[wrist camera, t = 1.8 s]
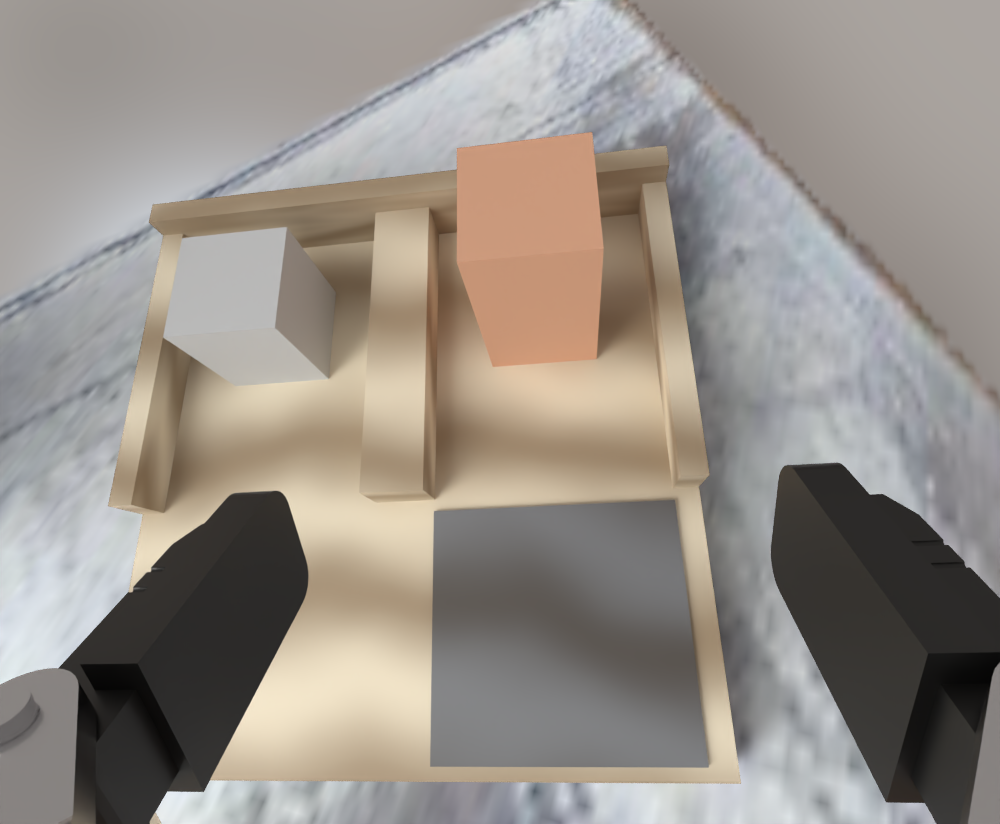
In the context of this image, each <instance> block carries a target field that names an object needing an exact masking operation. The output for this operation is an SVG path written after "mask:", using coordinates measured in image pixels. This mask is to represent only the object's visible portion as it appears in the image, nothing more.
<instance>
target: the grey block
mask: <svg viewBox="0 0 1000 824" xmlns="http://www.w3.org/2000/svg"><path fill="white" fill-rule="evenodd" d="M335 299H336V292H335V291H334V289H333V288H332V287H331V285H330V284H329V283H328V281H327V280H326V279H325V277H324V276H323V275H322V273H321V272H320V271H319V269H318V268H317V267H316V265H315V264H314V263H313V261H312V260H311V259H310V257H309V256H308V255H307V253H306V252H305V251H304V249H303V248H302V247H301V245H300V244H299V243H298V241H297V240H296V238H295V237H294V236H293V234H292V233H291V232H290V230H289V229H288V228H287V227H282V228H273V229H263V230H254V231H245V232H235V233H226V234H217V235H207V236H198V237H189V238H182V241H181V246H180V251H179V257H178V262H177V267H176V272H175V278H174V283H173V288H172V293H171V298H170V304H169V309H168V314H167V319H166V325H165V330H164V335H163V338H165V339H166V340H168V341H169V342H171V343H172V344H174V345H175V346H177V347H178V348H180V349H181V350H183V351H184V352H186V353H187V354H189V355H190V356H192V357H193V358H195V359H196V360H198V361H199V362H200V363H202V364H203V365H205V366H206V367H208V368H209V369H211V370H212V371H214V372H215V373H217V374H218V375H220V376H221V377H223V378H224V379H226V380H227V381H229V382H230V383H232V384H233V385H235V386H245V385H258V384H271V383H285V382H298V381H311V380H325V379H329V372H330V360H331V348H332V336H333V323H334V311H335Z"/></svg>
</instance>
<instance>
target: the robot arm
mask: <svg viewBox="0 0 1000 824" xmlns="http://www.w3.org/2000/svg"><path fill="white" fill-rule="evenodd" d="M771 561H772V568H773V573H774V577H775V581H776V584H777V586H778V589H779V591H780V593H781V595H782V597H783V599H784V601H785V603H786V605H787V607H788V609H789V611H790V613H791V615H792V617H793V619H794V621H795V623H796V625H797V627H798V629H799V630H800V632H801V634H802V636H803V638H804V640H805V642H806V644H807V646H808V648H809V650H810V652H811V654H812V656H813V658H814V660H815V662H816V664H817V666H818V668H819V670H820V672H821V674H822V676H823V678H824V680H825V682H826V684H827V686H828V688H829V690H830V692H831V694H832V696H833V698H834V700H835V702H836V704H837V706H838V708H839V710H840V712H841V714H842V716H843V718H844V720H845V722H846V724H847V726H848V728H849V730H850V731H851V733H852V735H853V737H854V739H855V741H856V743H857V745H858V747H859V749H860V751H861V753H862V755H863V757H864V759H865V761H866V763H867V765H868V767H869V769H870V771H871V773H872V775H873V777H874V779H875V781H876V783H877V785H878V787H879V789H880V791H881V793H882V795H883V797H884V799H885V801H886V802H900V803H925V804H926V806H927V807H928V809H929V811H930V813H931V814H932V816H933V818H934V820H935V822H936V823H937V824H1000V598H999V597H998V596H997V595H996V594H995V593H994V592H993V591H992V590H991V589H990V588H989V586H988V585H987V584H986V583H985V582H984V581H983V580H982V579H981V578H980V577H979V576H978V575H977V574H976V573H975V572H974V571H973V570H972V569H971V568H966V567H965V564H964V561H963V560H962V559H961V558H960V557H959V556H958V555H957V554H956V553H955V551H954V550H953V549H952V548H951V547H950V546H949V545H944V543H943V539H942V538H941V537H940V536H939V535H938V534H937V533H936V532H935V531H934V530H933V529H932V528H931V527H930V526H929V525H928V524H927V523H926V522H925V521H924V520H923V519H922V518H921V516H920V515H918V514H917V513H915V512H913V511H911V510H910V509H908V508H906V507H904V506H903V505H901V504H899V503H897V502H896V501H894V500H892V499H890V498H889V497H887V496H885V495H883V494H875V495H869V493H868V492H867V491H866V490H865V489H864V488H863V487H862V486H861V484H860V483H859V482H858V481H857V480H856V479H855V478H854V477H853V475H852V474H851V473H850V472H849V471H848V470H847V469H846V468H845V467H844V466H843V465H842V464H840V463H823V464H803V465H787V466H784V467H783V468H782V470H781V472H780V476H779V481H778V490H777V499H776V508H775V517H774V526H773V535H772V544H771ZM308 578H309V574H308V565H307V561H306V558H305V555H304V551H303V548H302V545H301V542H300V539H299V535H298V532H297V529H296V526H295V523H294V519H293V516H292V513H291V510H290V507H289V504H288V501H287V499H286V497H285V496H284V494H283V493H281V492H280V491H259V492H240V493H233V494H231V495H229V496H228V497H227V498H226V499H225V501H224V502H223V503H222V504H221V505H220V506H219V507H218V509H217V510H216V511H215V512H214V513H213V514H212V515H211V516H210V518H209V519H208V520H207V521H206V522H205V523H204V524H201V525H200V526H198V527H197V528H195V529H194V530H192V531H191V532H189V533H188V534H187V535H185V536H184V537H182V538H181V539H179V540H178V541H176V542H175V543H173V544H172V545H171V546H170V547H169V548H168V549H167V551H166V552H165V553H164V554H163V555H162V556H161V557H160V558H159V559H158V560H157V561H156V563H155V564H154V565H153V566H152V567H151V572H146V573H145V575H144V576H143V577H142V578H141V579H140V580H139V581H138V582H137V583H136V584H135V585H134V587H133V592H128V593H127V594H126V595H125V596H124V597H123V599H122V600H121V601H120V602H119V603H118V604H117V605H116V606H115V607H114V608H113V609H112V611H111V612H110V613H109V614H108V615H107V616H106V617H105V618H104V619H103V620H102V621H101V623H100V624H99V625H98V626H97V627H96V628H95V629H94V630H93V631H92V632H91V633H90V635H89V636H88V637H87V638H86V639H85V640H84V641H83V642H82V643H81V644H80V645H79V647H78V648H77V649H76V650H75V651H74V652H73V653H72V654H71V655H70V656H69V657H68V659H67V660H66V661H65V662H64V663H63V664H62V665H61V666H60V667H59V668H52V669H43V670H37V671H34V672H30V673H27V674H24V675H21V676H19V677H16V678H13V679H11V680H9V681H7V682H5V683H3V684H1V685H0V824H161V822H160V820H159V818H158V816H157V814H156V813H155V812H156V810H157V808H158V806H159V805H160V803H161V801H162V799H163V798H164V796H165V794H166V793H167V791H180V792H204V790H205V788H206V787H207V785H208V783H209V781H210V779H211V777H212V775H213V773H214V771H215V769H216V767H217V766H218V764H219V762H220V760H221V758H222V756H223V754H224V752H225V750H226V748H227V746H228V745H229V743H230V741H231V739H232V737H233V735H234V733H235V731H236V729H237V727H238V726H239V724H240V722H241V720H242V718H243V716H244V714H245V712H246V710H247V708H248V706H249V705H250V703H251V701H252V699H253V697H254V695H255V693H256V691H257V689H258V687H259V685H260V684H261V682H262V680H263V678H264V676H265V674H266V672H267V670H268V668H269V666H270V664H271V663H272V661H273V659H274V657H275V655H276V653H277V651H278V649H279V647H280V645H281V644H282V642H283V640H284V638H285V636H286V634H287V632H288V630H289V628H290V626H291V624H292V623H293V621H294V619H295V617H296V615H297V613H298V611H299V609H300V607H301V605H302V603H303V601H304V599H305V596H306V593H307V588H308Z"/></svg>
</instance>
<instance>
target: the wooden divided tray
mask: <svg viewBox="0 0 1000 824" xmlns="http://www.w3.org/2000/svg"><path fill="white" fill-rule="evenodd" d="M594 156H595V166H596V176H597V186H598V197H599V207H600V217H601V227H602V237H603V247H604V251H603V267H602V282H601V298H600V313H599V329H598V345H597V359H592V360H579V361H566V362H553V363H539V364H526V365H513V366H499V367H493V366H492V363H491V360H490V357H489V354H488V351H487V348H486V346H485V343H484V340H483V337H482V334H481V331H480V328H479V325H478V322H477V320H476V317H475V314H474V311H473V308H472V305H471V302H470V299H469V296H468V293H467V291H466V288H465V285H464V282H463V279H462V276H461V273H460V270H459V267H458V265H457V170H450V171H441V172H433V173H424V174H415V175H406V176H398V177H389V178H380V179H372V180H363V181H354V182H345V183H337V184H328V185H319V186H311V187H302V188H293V189H285V190H276V191H267V192H258V193H250V194H241V195H232V196H224V197H215V198H206V199H197V200H189V201H180V202H171V203H163V204H154V205H153V206H152V210H151V215H150V219H149V223H150V224H151V225H152V226H153V227H154V228H156V229H157V230H158V231H159V232H160V233H161V234H162V235H163V240H162V245H161V250H160V254H159V259H158V264H157V269H156V274H155V279H154V284H153V289H152V294H151V298H150V303H149V308H148V313H147V318H146V323H145V328H144V333H143V338H142V342H141V347H140V352H139V357H138V362H137V367H136V372H135V377H134V381H133V386H132V391H131V396H130V401H129V406H128V411H127V416H126V421H125V425H124V430H123V435H122V440H121V445H120V450H119V455H118V460H117V465H116V469H115V474H114V479H113V484H112V489H111V494H110V499H109V504H108V506H110V507H114V508H118V509H122V510H127V511H131V512H135V513H139V514H143V516H142V522H141V527H140V533H139V538H138V544H137V549H136V554H135V560H134V565H133V571H132V576H131V582H130V587H129V592H133V587H134V585H135V584H136V583H137V582H138V581H139V580H140V579H141V578H142V577H143V576H144V575H145V573H146V572H151V567H152V566H153V565H154V564H155V563H156V561H157V560H158V559H159V558H160V557H161V556H162V555H163V554H164V553H165V552H166V551H167V549H168V548H169V547H170V546H171V545H172V544H173V543H175V542H176V541H178V540H179V539H181V538H182V537H184V536H185V535H187V534H188V533H189V532H191V531H192V530H194V529H195V528H197V527H198V526H200V525H201V524H204V523H205V522H206V521H207V520H208V519H209V518H210V516H211V515H212V514H213V513H214V512H215V511H216V510H217V509H218V507H219V506H220V505H221V504H222V503H223V502H224V501H225V499H226V498H227V497H228V496H229V495H231V494H233V493H240V492H259V491H280V492H281V493H283V494H284V496H285V497H286V499H287V501H288V504H289V507H290V510H291V513H292V516H293V519H294V523H295V526H296V529H297V532H298V535H299V539H300V542H301V545H302V548H303V551H304V555H305V558H306V561H307V565H308V574H309V578H308V588H307V593H306V596H305V599H304V601H303V603H302V605H301V607H300V609H299V611H298V613H297V615H296V617H295V619H294V621H293V623H292V624H291V626H290V628H289V630H288V632H287V634H286V636H285V638H284V640H283V642H282V644H281V645H280V647H279V649H278V651H277V653H276V655H275V657H274V659H273V661H272V663H271V664H270V666H269V668H268V670H267V672H266V674H265V676H264V678H263V680H262V682H261V684H260V685H259V687H258V689H257V691H256V693H255V695H254V697H253V699H252V701H251V703H250V705H249V706H248V708H247V710H246V712H245V714H244V716H243V718H242V720H241V722H240V724H239V726H238V727H237V729H236V731H235V733H234V735H233V737H232V739H231V741H230V743H229V745H228V746H227V748H226V750H225V752H224V754H223V756H222V758H221V760H220V762H219V764H218V766H217V767H216V769H215V771H214V773H213V775H212V777H211V779H210V780H244V781H405V782H565V783H726V784H741V780H740V773H739V766H738V759H737V752H736V745H735V738H734V731H733V724H732V717H731V709H730V702H729V695H728V688H727V681H726V674H725V667H724V660H723V653H722V646H721V639H720V632H719V625H718V618H717V611H716V604H715V597H714V590H713V582H712V575H711V568H710V561H709V554H708V547H707V540H706V533H705V526H704V519H703V512H702V505H701V498H700V491H699V486H700V485H701V484H702V483H703V482H704V481H705V479H706V478H707V477H708V476H709V475H710V474H709V467H708V461H707V454H706V447H705V440H704V434H703V427H702V420H701V414H700V407H699V400H698V393H697V387H696V380H695V373H694V367H693V360H692V353H691V347H690V340H689V333H688V326H687V320H686V313H685V306H684V300H683V293H682V286H681V279H680V273H679V266H678V259H677V253H676V246H675V239H674V232H673V226H672V219H671V212H670V206H669V199H668V192H667V186H666V178H667V173H668V168H669V160H668V153H667V147H666V146H659V147H650V148H642V149H633V150H624V151H616V152H607V153H598V154H594ZM282 227H287V228H288V229H289V230H290V232H291V233H292V234H293V236H294V237H295V238H296V240H297V241H298V243H299V244H300V245H301V247H302V248H303V249H304V251H305V252H306V253H307V255H308V256H309V257H310V259H311V260H312V261H313V263H314V264H315V265H316V267H317V268H318V269H319V271H320V272H321V273H322V275H323V276H324V277H325V279H326V280H327V281H328V283H329V284H330V285H331V287H332V288H333V289H334V291H335V292H336V299H335V311H334V323H333V336H332V348H331V360H330V372H329V379H325V380H311V381H298V382H285V383H271V384H258V385H245V386H235V385H233V384H232V383H230V382H229V381H227V380H226V379H224V378H223V377H221V376H220V375H218V374H217V373H215V372H214V371H212V370H211V369H209V368H208V367H206V366H205V365H203V364H202V363H200V362H199V361H198V360H196V359H195V358H193V357H192V356H190V355H189V354H187V353H186V352H184V351H183V350H181V349H180V348H178V347H177V346H175V345H174V344H172V343H171V342H169V341H168V340H166V339H165V338H163V335H164V330H165V325H166V319H167V314H168V309H169V304H170V298H171V293H172V288H173V283H174V278H175V272H176V267H177V262H178V257H179V251H180V246H181V241H182V238H189V237H198V236H207V235H217V234H226V233H235V232H245V231H254V230H263V229H273V228H282Z"/></svg>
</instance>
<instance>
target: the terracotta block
mask: <svg viewBox="0 0 1000 824" xmlns="http://www.w3.org/2000/svg"><path fill="white" fill-rule="evenodd" d="M603 251H604V247H603V237H602V227H601V217H600V207H599V197H598V186H597V176H596V166H595V156H594V146H593V136H592V132H589V133H581V134H573V135H564V136H556V137H547V138H539V139H531V140H522V141H514V142H505V143H497V144H489V145H480V146H472V147H463V148H457V265H458V267H459V270H460V273H461V276H462V279H463V282H464V285H465V288H466V291H467V293H468V296H469V299H470V302H471V305H472V308H473V311H474V314H475V317H476V320H477V322H478V325H479V328H480V331H481V334H482V337H483V340H484V343H485V346H486V348H487V351H488V354H489V357H490V360H491V363H492V366H493V367H499V366H513V365H526V364H539V363H553V362H566V361H579V360H592V359H597V345H598V329H599V313H600V298H601V282H602V267H603Z"/></svg>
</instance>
